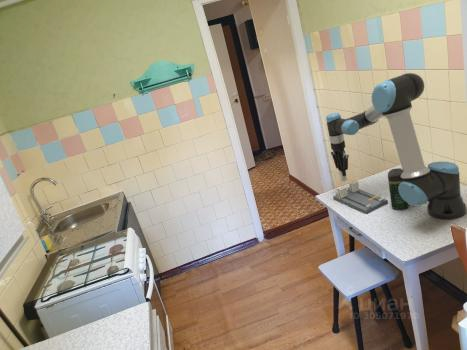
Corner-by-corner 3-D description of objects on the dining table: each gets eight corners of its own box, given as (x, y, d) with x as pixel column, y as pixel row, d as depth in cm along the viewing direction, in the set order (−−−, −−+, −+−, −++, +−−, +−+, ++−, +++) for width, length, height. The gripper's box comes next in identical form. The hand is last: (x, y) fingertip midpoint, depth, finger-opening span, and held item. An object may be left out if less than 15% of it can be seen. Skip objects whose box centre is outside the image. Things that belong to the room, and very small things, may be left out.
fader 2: (359, 189, 205) (358, 181, 203) (353, 192, 204) (352, 184, 202) (356, 188, 208) (354, 180, 206) (350, 191, 207) (348, 183, 205)
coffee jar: (409, 209, 178) (405, 174, 172) (391, 210, 181) (386, 175, 175) (408, 200, 186) (404, 166, 180) (391, 201, 189) (387, 167, 183)
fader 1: (347, 195, 203) (346, 187, 201) (341, 198, 202) (340, 189, 200) (344, 193, 206) (342, 185, 204) (338, 196, 204) (336, 188, 203)
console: (388, 203, 189) (387, 197, 187) (366, 214, 185) (365, 208, 184) (353, 190, 212) (352, 185, 211) (333, 199, 208) (332, 194, 207)
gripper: (350, 141, 199) (357, 181, 207) (335, 137, 211) (342, 175, 219) (339, 145, 197) (346, 185, 205) (324, 142, 209) (331, 180, 217)
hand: (344, 180), depth 212 cm, fingers closed
